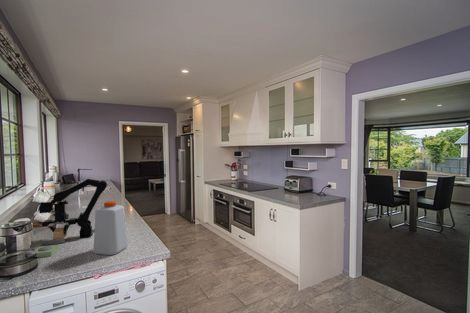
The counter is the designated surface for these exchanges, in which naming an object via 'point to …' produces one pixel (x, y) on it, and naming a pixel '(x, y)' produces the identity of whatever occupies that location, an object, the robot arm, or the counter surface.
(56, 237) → the brown cardboard carton
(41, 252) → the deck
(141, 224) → the counter surface
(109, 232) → the plastic bottle
